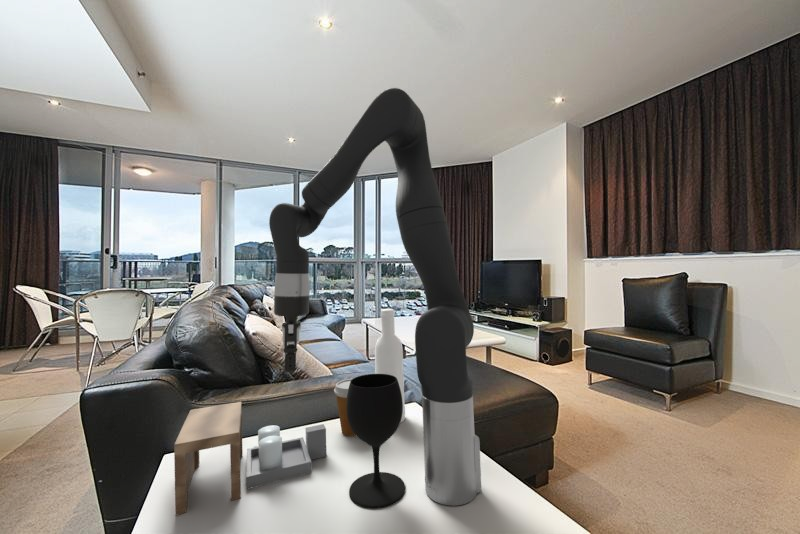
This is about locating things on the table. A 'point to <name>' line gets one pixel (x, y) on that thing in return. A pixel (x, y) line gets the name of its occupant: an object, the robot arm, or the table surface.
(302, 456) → the tray
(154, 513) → the table surface
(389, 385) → the wine glass
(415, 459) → the table surface
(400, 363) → the bottle
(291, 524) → the table surface
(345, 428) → the disposable coffee cup
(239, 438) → the small wooden table
